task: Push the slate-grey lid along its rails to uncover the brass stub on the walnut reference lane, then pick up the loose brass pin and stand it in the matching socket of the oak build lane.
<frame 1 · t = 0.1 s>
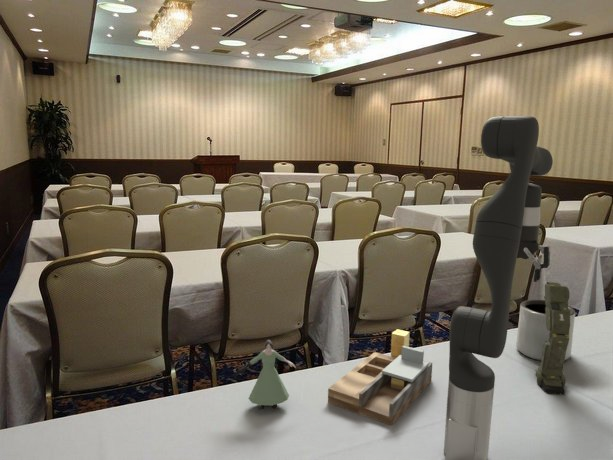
hand: (519, 278, 140), 29 cm above the table, tool pointing down, fingers open, 8 cm apart
board: (384, 388, 137), on the table
planter: (542, 353, 161), on the table
pin: (399, 363, 152), on the table
mechanical leg: (549, 383, 141), on the table
character figurine: (265, 407, 127), on the table
lid: (406, 361, 136), point 8 cm above the table, slide at 0.0 cm
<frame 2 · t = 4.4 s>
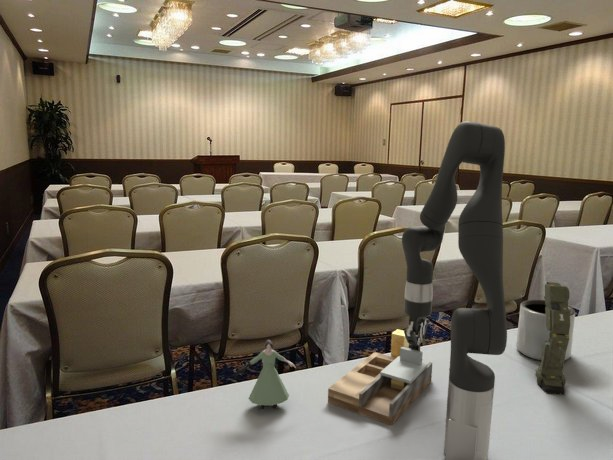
hand: (415, 355, 141), 7 cm above the table, tool pointing down, fingers closed
lid: (404, 363, 135), point 8 cm above the table, slide at 1.0 cm, touching gripper
everything else where it was.
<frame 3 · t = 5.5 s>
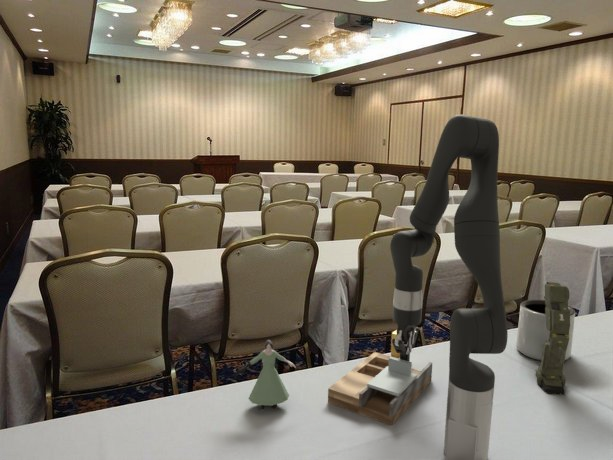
hand: (404, 365, 135), 7 cm above the table, tool pointing down, fingers closed
lid: (392, 374, 129), point 8 cm above the table, slide at 8.7 cm, touching gripper
everything else where it was.
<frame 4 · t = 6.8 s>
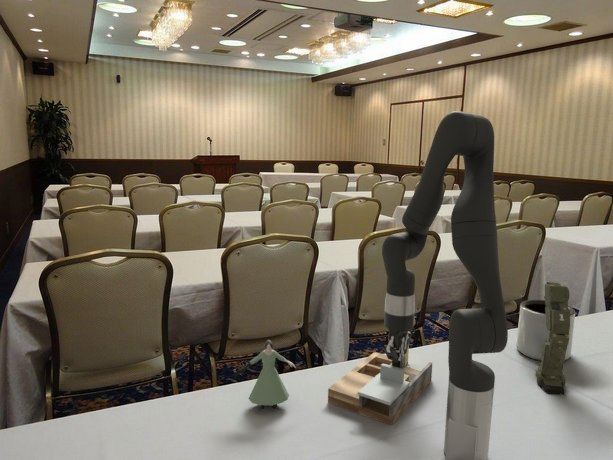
hand: (396, 372, 131), 7 cm above the table, tool pointing down, fingers closed
lid: (384, 381, 125), point 8 cm above the table, slide at 13.7 cm, touching gripper
everything else where it was.
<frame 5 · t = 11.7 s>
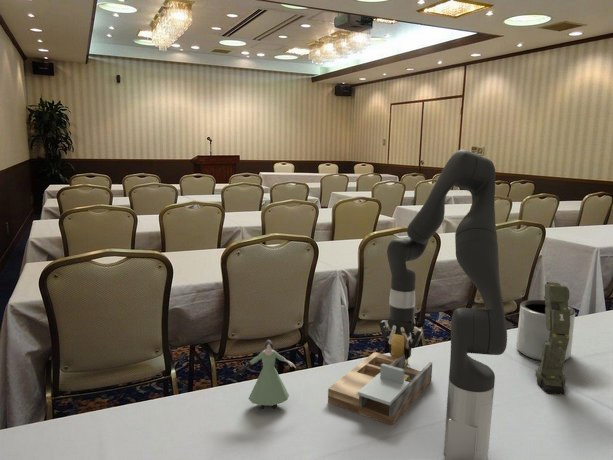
hand: (399, 356, 152), 2 cm above the table, tool pointing down, fingers closed on pin, 4 cm apart
pin: (399, 363, 152), on the table, touching gripper
lid: (384, 381, 125), point 8 cm above the table, slide at 13.7 cm
everything else where it was.
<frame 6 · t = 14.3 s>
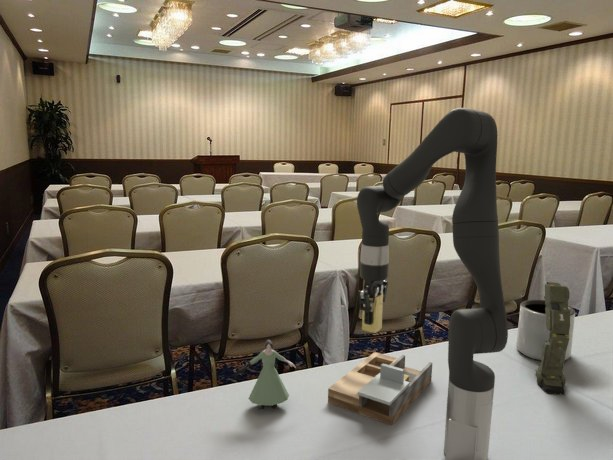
hand: (372, 321, 136), 19 cm above the table, tool pointing down, fingers closed on pin, 4 cm apart
pin: (371, 329, 136), point 16 cm above the table, touching gripper
everything else where it was.
when the fingers open (5 cm above the table, at t = 17.0 s): pin stays where it is, resting on board.
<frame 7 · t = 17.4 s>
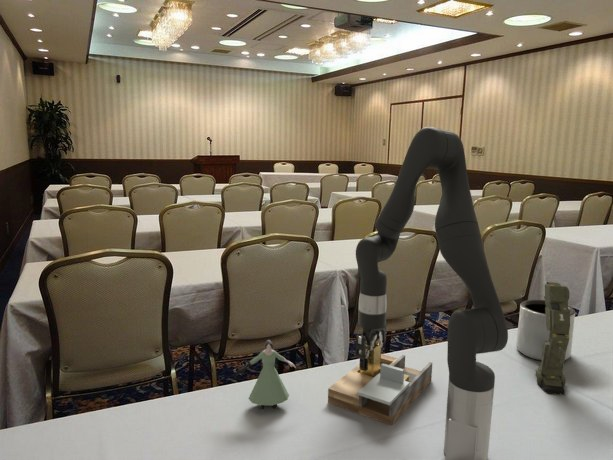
hand: (370, 364, 138), 6 cm above the table, tool pointing down, fingers open, 7 cm apart
pin: (369, 377, 139), point 2 cm above the table, touching board
everything else where it was.
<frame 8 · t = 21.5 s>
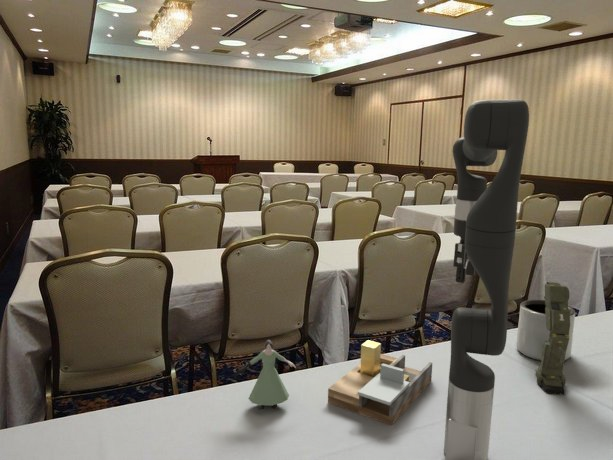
hand: (465, 278, 130), 32 cm above the table, tool pointing down, fingers open, 8 cm apart
nothing on the table moved.
at the end: lid slide at 13.7 cm; pin 0.1 cm from the target spot on the board, point 2.0 cm above the board's base; pin tilted 0° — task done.
